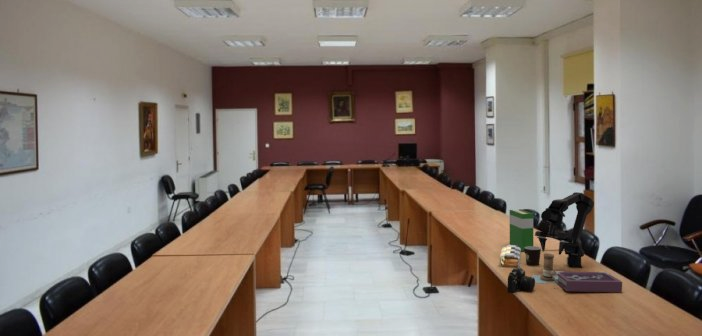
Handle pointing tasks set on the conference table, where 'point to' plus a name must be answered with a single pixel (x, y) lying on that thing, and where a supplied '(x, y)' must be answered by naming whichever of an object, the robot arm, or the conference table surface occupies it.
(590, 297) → the conference table surface
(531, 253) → the coffee mug
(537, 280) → the flat light blue board
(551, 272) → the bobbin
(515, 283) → the film camera
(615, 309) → the conference table surface
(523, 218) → the hardback book
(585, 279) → the book
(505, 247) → the diorama
